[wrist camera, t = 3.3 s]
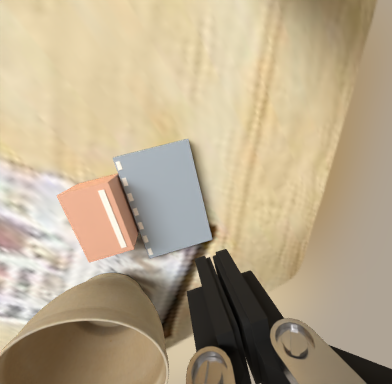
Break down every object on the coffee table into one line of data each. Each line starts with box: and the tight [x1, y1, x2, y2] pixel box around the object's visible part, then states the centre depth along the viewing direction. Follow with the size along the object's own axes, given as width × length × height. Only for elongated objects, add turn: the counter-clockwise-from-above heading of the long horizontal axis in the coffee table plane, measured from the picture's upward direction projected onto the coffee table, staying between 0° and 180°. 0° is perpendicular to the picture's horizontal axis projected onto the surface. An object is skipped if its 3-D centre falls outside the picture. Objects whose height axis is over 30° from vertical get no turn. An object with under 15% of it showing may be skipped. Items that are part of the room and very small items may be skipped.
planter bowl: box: [0, 273, 169, 384], centre depth 24 cm, size 16×16×11 cm
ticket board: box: [113, 139, 212, 258], centre depth 25 cm, size 9×14×2 cm, turn 14°
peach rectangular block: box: [57, 174, 139, 262], centre depth 22 cm, size 5×8×5 cm, turn 14°
